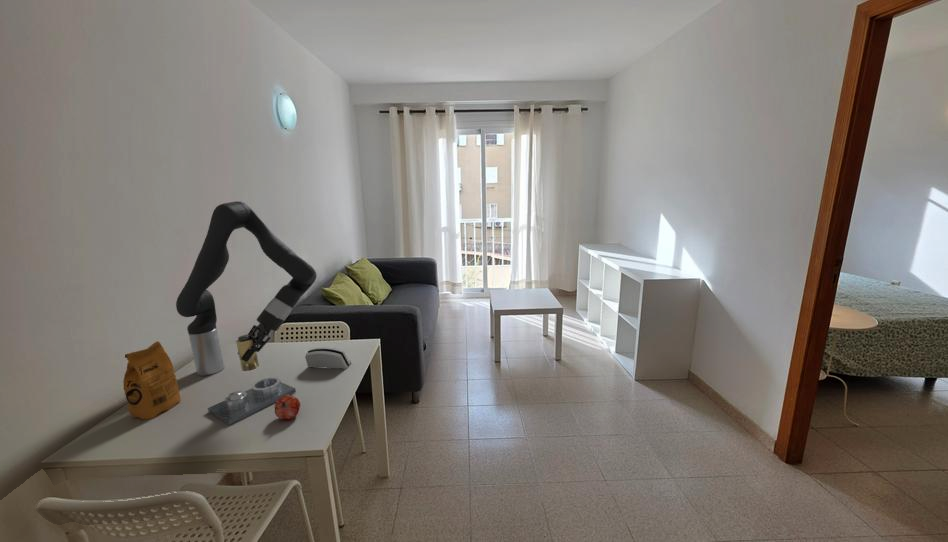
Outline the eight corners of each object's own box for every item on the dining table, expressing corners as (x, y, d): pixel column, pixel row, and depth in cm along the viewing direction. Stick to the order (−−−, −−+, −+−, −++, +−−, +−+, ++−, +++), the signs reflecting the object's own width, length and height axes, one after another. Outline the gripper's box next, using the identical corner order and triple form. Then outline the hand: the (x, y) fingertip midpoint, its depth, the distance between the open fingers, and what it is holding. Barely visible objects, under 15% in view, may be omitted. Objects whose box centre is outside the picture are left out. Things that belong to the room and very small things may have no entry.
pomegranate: (280, 419, 125) (263, 416, 116) (288, 395, 128) (272, 391, 119) (302, 422, 124) (287, 420, 115) (309, 398, 127) (294, 394, 118)
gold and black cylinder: (239, 368, 129) (232, 338, 127) (254, 362, 133) (248, 332, 131) (246, 372, 127) (240, 340, 124) (261, 366, 131) (255, 335, 128)
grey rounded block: (352, 363, 157) (346, 344, 152) (347, 371, 154) (341, 353, 148) (314, 362, 160) (306, 344, 155) (308, 370, 156) (300, 352, 151)
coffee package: (125, 418, 125) (108, 355, 120) (163, 398, 137) (149, 339, 132) (148, 422, 122) (132, 357, 118) (186, 400, 134) (172, 341, 129)
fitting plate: (208, 412, 126) (205, 397, 125) (273, 382, 144) (271, 369, 143) (229, 425, 119) (226, 409, 118) (295, 392, 137) (293, 377, 135)
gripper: (260, 304, 136) (227, 346, 131) (270, 313, 125) (235, 359, 120) (278, 314, 140) (247, 356, 135) (290, 324, 130) (257, 369, 125)
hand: (242, 357), depth 128 cm, fingers closed on gold and black cylinder, 5 cm apart
